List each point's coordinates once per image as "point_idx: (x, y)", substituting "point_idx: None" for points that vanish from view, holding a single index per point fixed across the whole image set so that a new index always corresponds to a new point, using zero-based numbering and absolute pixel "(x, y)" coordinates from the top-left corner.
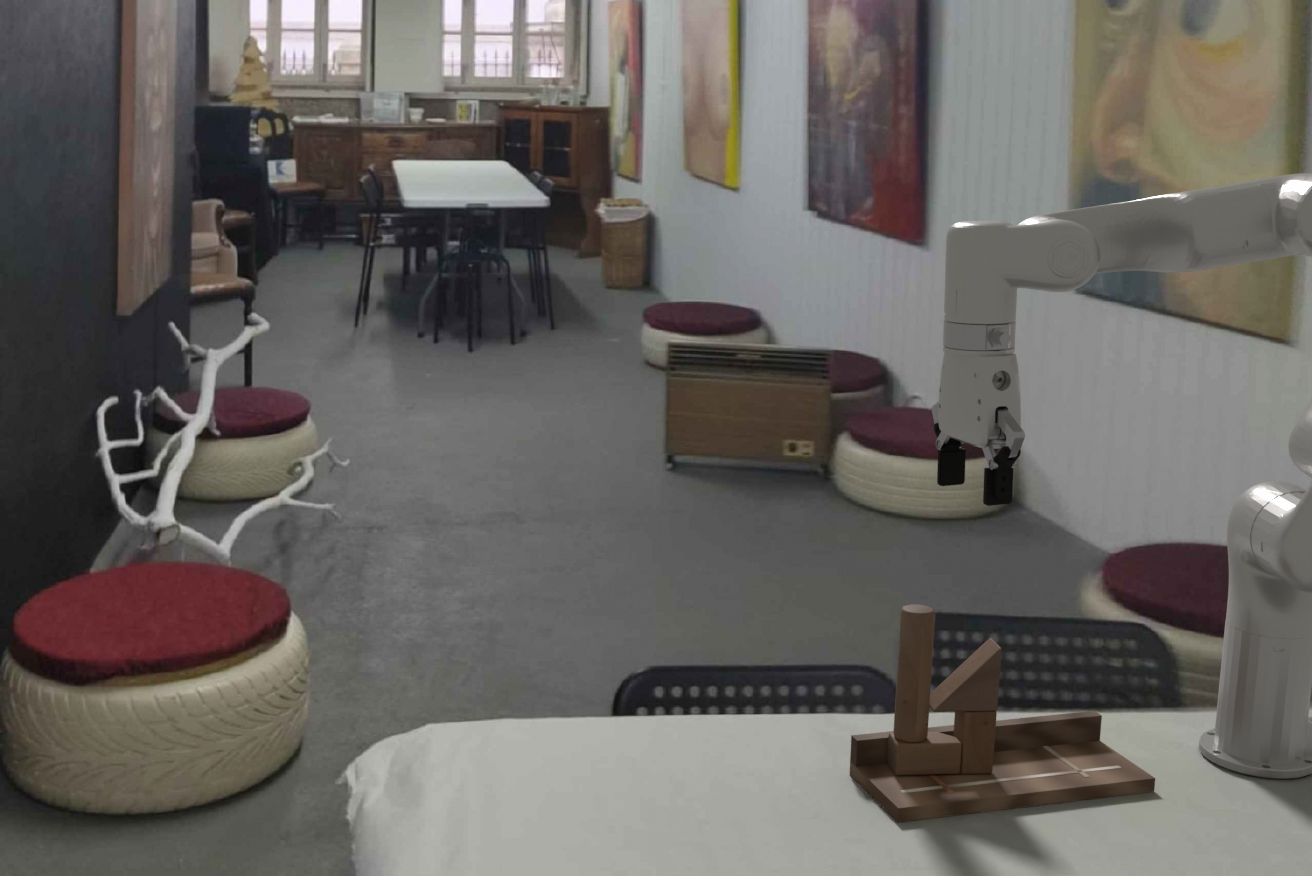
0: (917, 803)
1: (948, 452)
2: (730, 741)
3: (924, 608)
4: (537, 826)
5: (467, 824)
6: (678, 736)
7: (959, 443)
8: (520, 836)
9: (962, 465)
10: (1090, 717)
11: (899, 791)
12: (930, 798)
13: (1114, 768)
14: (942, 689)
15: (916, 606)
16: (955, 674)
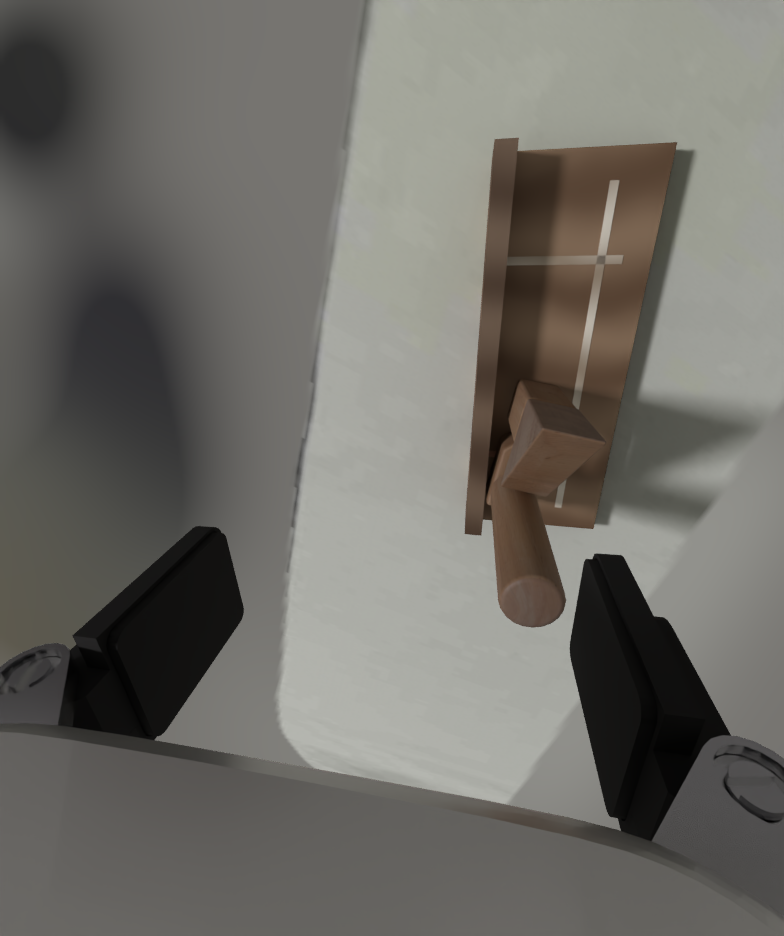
0: (591, 506)
1: (148, 717)
2: (357, 573)
3: (536, 594)
4: (477, 742)
5: (458, 770)
6: (336, 606)
7: (73, 702)
8: (489, 754)
9: (175, 593)
10: (515, 165)
11: (556, 508)
12: (586, 487)
13: (616, 194)
14: (526, 481)
15: (519, 601)
16: (529, 469)
